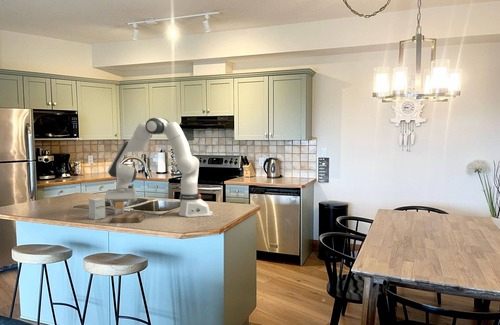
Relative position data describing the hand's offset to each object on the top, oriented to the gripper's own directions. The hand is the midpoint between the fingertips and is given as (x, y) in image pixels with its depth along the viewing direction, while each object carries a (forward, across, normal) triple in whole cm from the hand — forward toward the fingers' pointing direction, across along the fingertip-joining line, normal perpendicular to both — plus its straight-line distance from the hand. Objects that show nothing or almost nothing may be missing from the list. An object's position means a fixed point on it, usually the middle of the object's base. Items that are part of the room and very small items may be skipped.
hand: (119, 206), depth 247 cm
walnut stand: (+14, +9, -6) cm, 18 cm away
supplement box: (+10, -12, -1) cm, 15 cm away
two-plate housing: (+4, 0, +5) cm, 6 cm away
